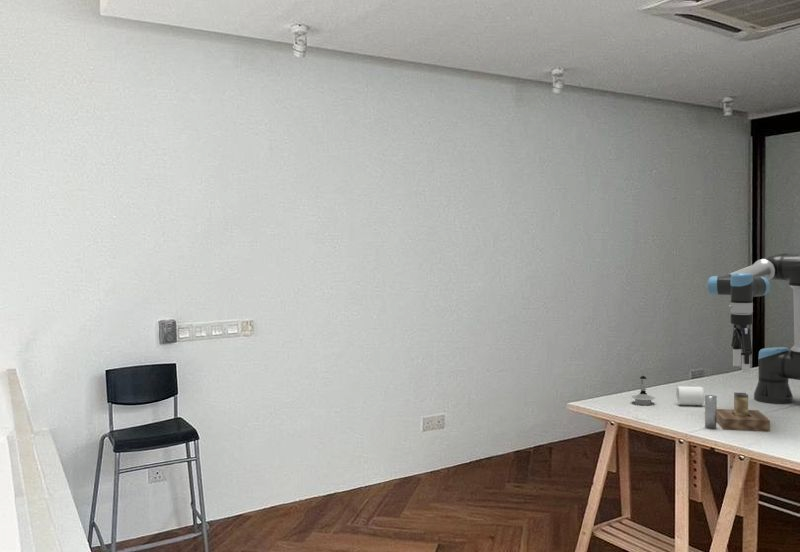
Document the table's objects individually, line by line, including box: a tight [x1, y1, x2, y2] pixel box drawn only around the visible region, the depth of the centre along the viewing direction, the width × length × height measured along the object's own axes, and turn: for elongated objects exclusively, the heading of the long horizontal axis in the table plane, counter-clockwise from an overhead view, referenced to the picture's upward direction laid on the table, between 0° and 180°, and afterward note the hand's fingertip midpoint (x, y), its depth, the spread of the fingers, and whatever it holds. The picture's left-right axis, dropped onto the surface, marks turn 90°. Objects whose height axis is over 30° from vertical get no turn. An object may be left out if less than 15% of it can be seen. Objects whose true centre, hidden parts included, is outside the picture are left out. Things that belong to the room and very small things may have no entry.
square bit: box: [733, 392, 749, 416], centre depth 266 cm, size 4×4×12 cm
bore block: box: [716, 408, 771, 432], centre depth 266 cm, size 16×16×4 cm
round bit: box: [704, 394, 718, 430], centre depth 263 cm, size 4×4×12 cm
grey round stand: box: [630, 375, 656, 406], centre depth 305 cm, size 12×10×10 cm
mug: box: [675, 385, 705, 407], centre depth 302 cm, size 12×10×8 cm
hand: (741, 369), depth 266 cm, fingers open, 13 cm apart
